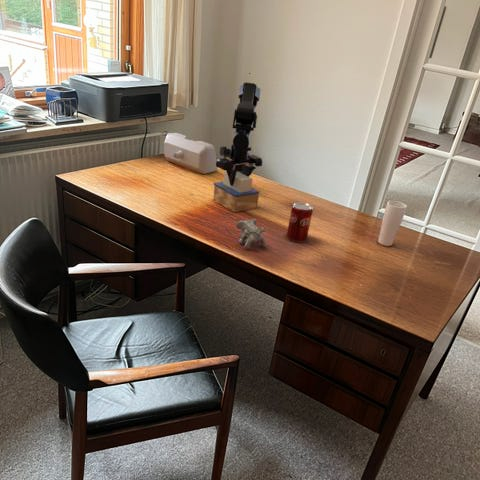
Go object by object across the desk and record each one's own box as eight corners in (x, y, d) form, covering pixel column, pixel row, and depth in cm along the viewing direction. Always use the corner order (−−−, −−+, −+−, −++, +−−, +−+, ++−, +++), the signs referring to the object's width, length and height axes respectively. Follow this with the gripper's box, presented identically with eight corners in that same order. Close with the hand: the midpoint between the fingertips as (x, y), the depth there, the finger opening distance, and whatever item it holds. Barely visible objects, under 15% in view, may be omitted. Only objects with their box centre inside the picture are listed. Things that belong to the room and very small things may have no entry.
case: (222, 183, 187) (223, 171, 185) (233, 181, 190) (234, 169, 188) (240, 192, 181) (241, 180, 178) (251, 191, 184) (252, 178, 181)
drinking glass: (384, 248, 170) (396, 208, 161) (371, 240, 175) (383, 201, 166) (398, 246, 173) (411, 207, 164) (385, 238, 177) (397, 199, 169)
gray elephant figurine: (251, 253, 154) (254, 231, 150) (224, 239, 160) (226, 218, 156) (268, 245, 161) (272, 224, 156) (242, 233, 167) (244, 212, 162)
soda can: (308, 237, 170) (315, 205, 164) (304, 244, 165) (310, 211, 158) (289, 232, 172) (295, 200, 165) (284, 239, 166) (289, 206, 160)
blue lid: (213, 184, 187) (213, 182, 187) (236, 181, 194) (236, 179, 193) (236, 197, 179) (236, 195, 178) (259, 193, 185) (259, 191, 185)
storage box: (213, 200, 190) (214, 185, 187) (235, 196, 197) (237, 182, 194) (234, 212, 182) (236, 197, 179) (257, 207, 189) (259, 193, 185)
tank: (155, 162, 222) (155, 134, 215) (179, 157, 233) (180, 130, 226) (194, 177, 210) (196, 148, 203) (218, 171, 221) (220, 144, 214)
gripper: (247, 136, 186) (242, 175, 195) (208, 139, 176) (205, 180, 185) (265, 143, 180) (260, 184, 189) (227, 147, 169) (223, 190, 178)
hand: (237, 184), depth 185 cm, fingers closed on case, 5 cm apart
